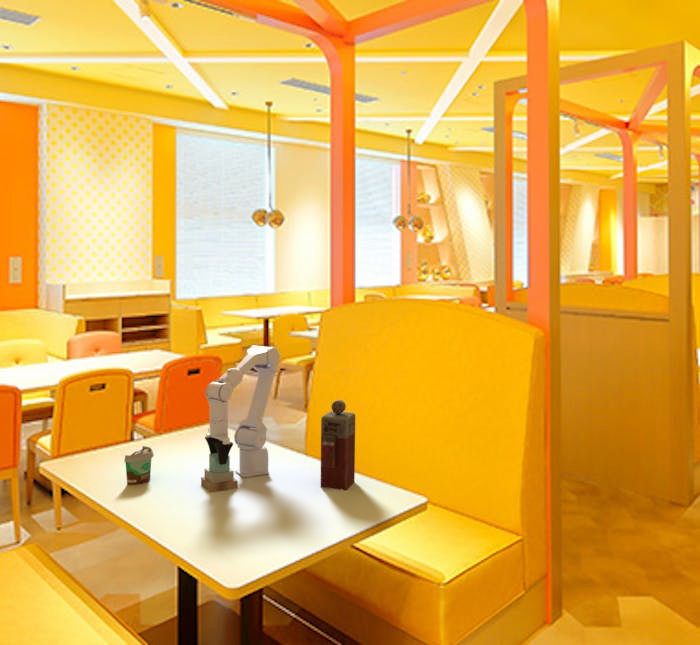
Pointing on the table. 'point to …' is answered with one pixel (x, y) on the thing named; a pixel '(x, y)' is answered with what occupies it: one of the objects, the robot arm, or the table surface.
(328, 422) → the red grey gas pump
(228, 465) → the teal cube
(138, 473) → the food container
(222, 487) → the tower base
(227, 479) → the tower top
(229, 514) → the table surface
